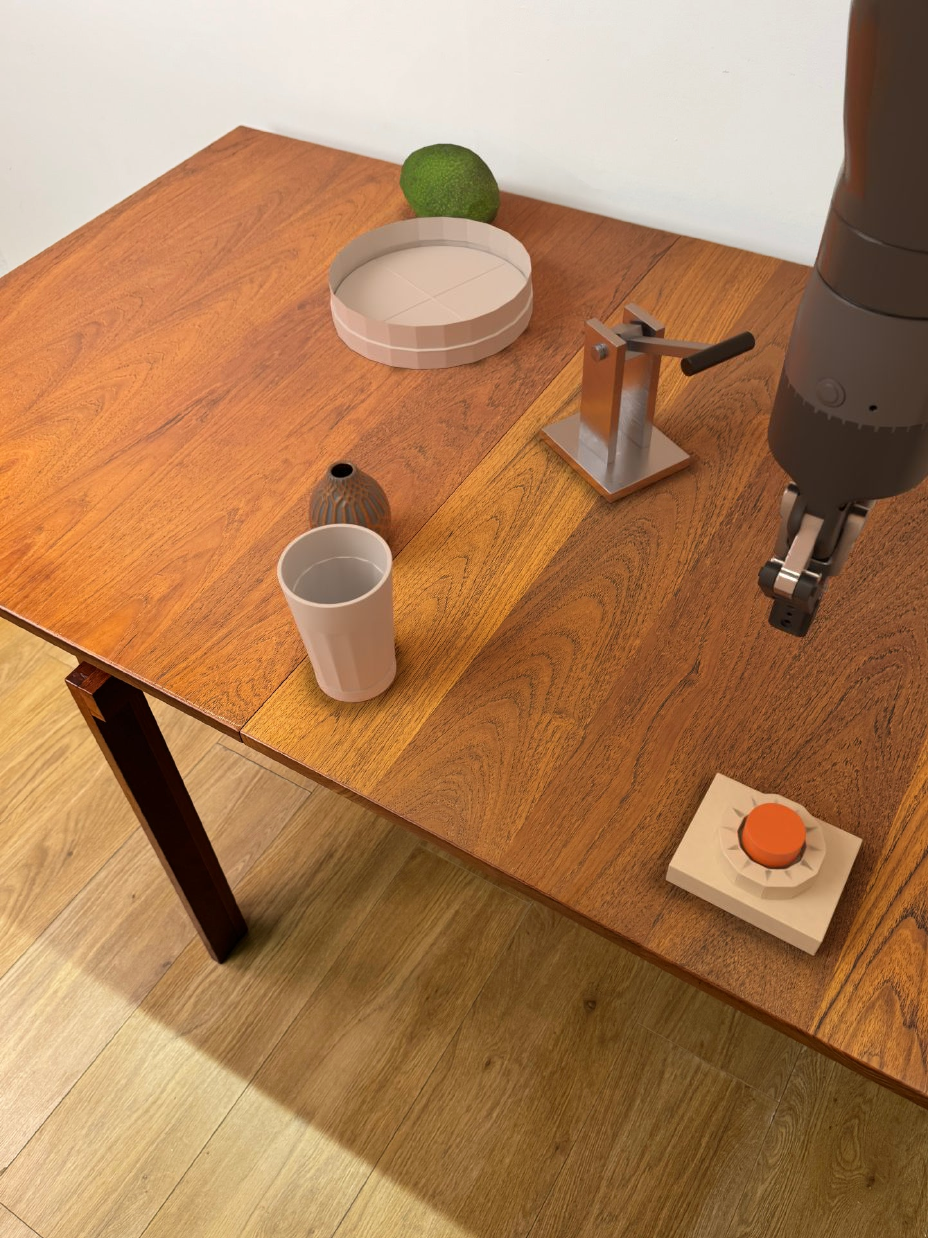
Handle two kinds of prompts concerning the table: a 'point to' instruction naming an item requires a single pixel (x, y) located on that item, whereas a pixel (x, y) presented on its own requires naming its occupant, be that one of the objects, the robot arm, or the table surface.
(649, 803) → the table surface
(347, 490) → the vase
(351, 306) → the dish
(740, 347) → the metal lever
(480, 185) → the fruit
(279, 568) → the cup
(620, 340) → the lever bracket
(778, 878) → the block
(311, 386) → the table surface
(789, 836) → the power button
